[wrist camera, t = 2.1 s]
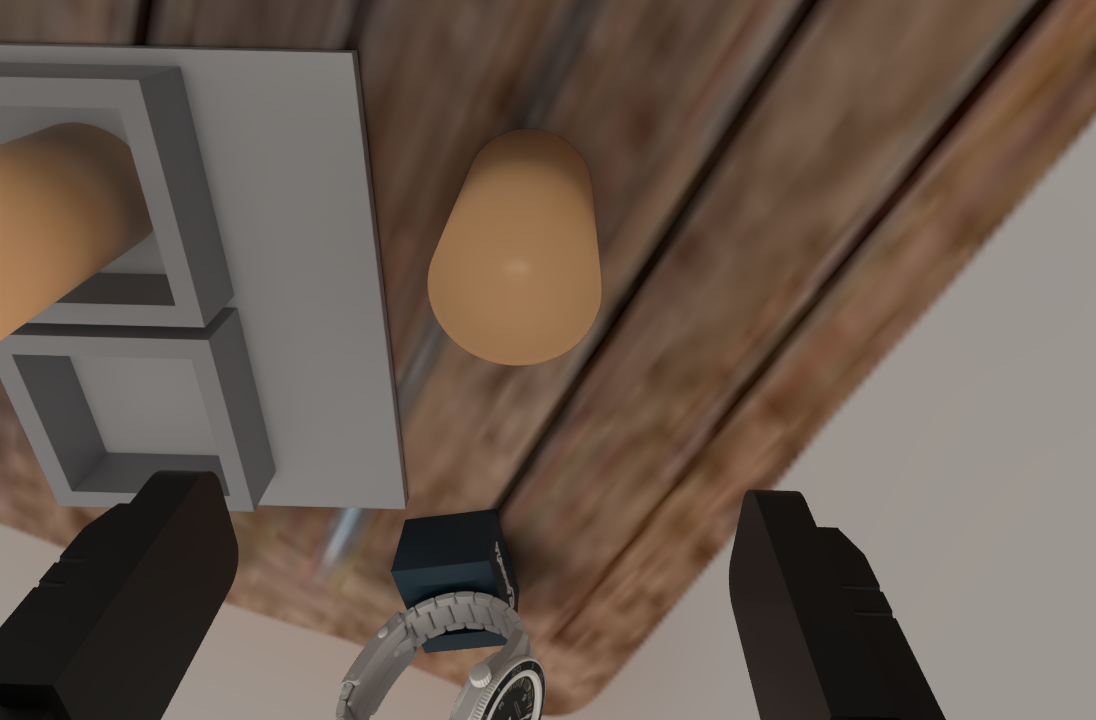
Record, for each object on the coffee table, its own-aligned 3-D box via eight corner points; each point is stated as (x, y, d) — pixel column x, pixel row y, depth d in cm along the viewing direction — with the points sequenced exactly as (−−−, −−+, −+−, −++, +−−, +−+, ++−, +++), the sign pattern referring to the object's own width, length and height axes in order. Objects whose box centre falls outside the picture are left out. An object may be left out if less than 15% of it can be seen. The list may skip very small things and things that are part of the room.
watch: (557, 586, 35) (554, 826, 25) (402, 602, 36) (343, 840, 26) (536, 502, 32) (524, 738, 23) (368, 522, 33) (289, 757, 23)
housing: (-110, 40, 22) (-443, 89, 15) (356, 50, 22) (253, 105, 15) (83, 490, 32) (-60, 654, 25) (408, 499, 32) (360, 667, 25)
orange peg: (463, 127, 23) (421, 204, 17) (595, 130, 23) (607, 209, 16) (469, 250, 26) (433, 363, 19) (588, 253, 26) (597, 367, 19)
